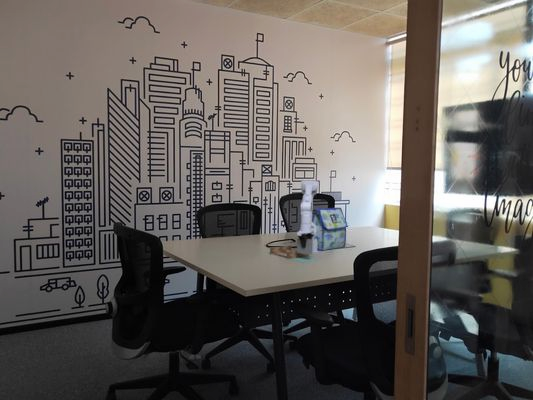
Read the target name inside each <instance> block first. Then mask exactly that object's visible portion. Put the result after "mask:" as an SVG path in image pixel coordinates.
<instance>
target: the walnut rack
mask: <svg viewBox="0 0 533 400" xmlns="http://www.w3.org/2000/svg"><path fill="white" fill-rule="evenodd" d="M288 250H292V245H291V244H290V245H282V246H273V247H270V248H269V254H270V255H274V256H278V257H281V258H284V259H287V260H292V259H295V258H301V257H309V255H308V254H302V253H297V250H293V252H286V251H288Z"/></svg>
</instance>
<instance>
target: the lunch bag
mask: <svg viewBox="0 0 533 400" xmlns="http://www.w3.org/2000/svg"><path fill="white" fill-rule="evenodd" d="M312 222H313V223H314V224H315V225H316V237H315V238H316V239H317V242H318V243H317V250H319V251H321V252H322V251H323V252H324V251H327V250H333V249H339V248H344V247H345V246H346V242H347V241H346V240H347V227H348V222H347V220H346V217H345V215H344V213H343V210H342V207H329V208H327V207H325V208H320V207H319V208H318V209H315V210H314V213H313V214H312Z"/></svg>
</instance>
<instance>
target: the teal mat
mask: <svg viewBox="0 0 533 400" xmlns="http://www.w3.org/2000/svg"><path fill="white" fill-rule="evenodd" d="M291 260H292V261H296V262H301V263H309V262H313V261H315V262H316V261H319V259H318V258H314V257H310V256H304V257H298V258H291Z"/></svg>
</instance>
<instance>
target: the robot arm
mask: <svg viewBox="0 0 533 400" xmlns="http://www.w3.org/2000/svg"><path fill="white" fill-rule="evenodd" d="M318 186H319V182H318V180H310V179H307V180H304V179H302V180H301V183H300V189H301V194H303V195H302V200H301V202H300V215H301V217H300V218H301V219H300V228H299V231H297V232H296V235H297V237H298V238H299V239H300V242H301V247H302V248H305V247H306V241H307V239H312V240H313V248H312V254H313V253H318V252H319V251H318V249H317V243H318V242H317V239H316V238H315V237H316V225H315V224H314V223H313V222H312V218H313V210H314V209H313V208H314V204H313V203H314V202H313V201H314V197H315V195H317V194H318V188H319V187H318Z"/></svg>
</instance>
